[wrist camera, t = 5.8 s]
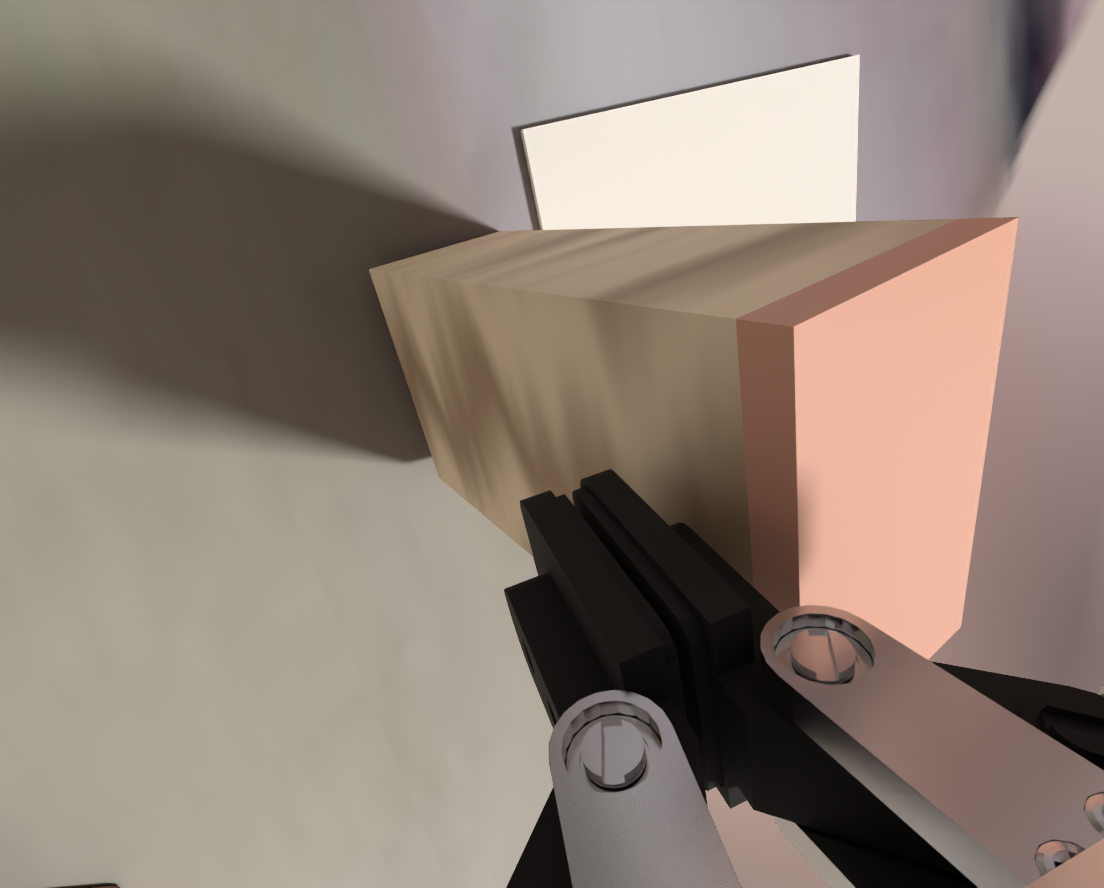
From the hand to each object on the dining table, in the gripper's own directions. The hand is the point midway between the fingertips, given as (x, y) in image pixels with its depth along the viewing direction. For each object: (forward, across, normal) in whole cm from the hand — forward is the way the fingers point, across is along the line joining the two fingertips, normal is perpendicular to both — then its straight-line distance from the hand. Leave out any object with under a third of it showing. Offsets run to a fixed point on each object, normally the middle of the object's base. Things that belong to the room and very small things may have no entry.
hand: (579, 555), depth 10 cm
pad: (+14, -12, 0) cm, 18 cm away
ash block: (+13, -1, 0) cm, 13 cm away
